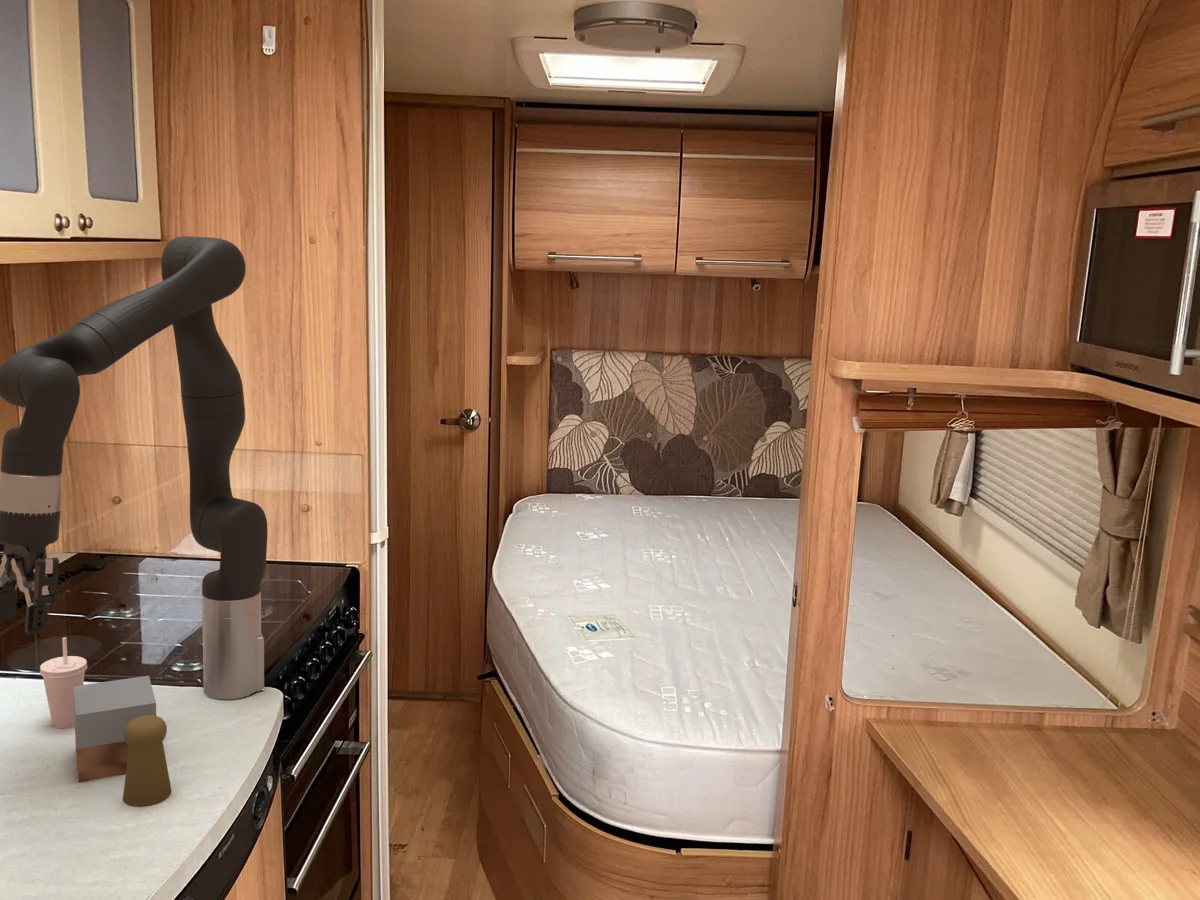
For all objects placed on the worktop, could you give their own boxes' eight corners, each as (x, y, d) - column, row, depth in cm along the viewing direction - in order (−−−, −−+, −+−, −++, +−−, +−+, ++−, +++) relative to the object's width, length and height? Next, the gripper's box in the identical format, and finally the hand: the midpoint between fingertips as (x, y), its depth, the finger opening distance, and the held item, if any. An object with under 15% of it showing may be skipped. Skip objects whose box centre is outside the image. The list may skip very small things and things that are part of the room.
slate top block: (149, 706, 146) (148, 675, 146) (156, 735, 138) (156, 702, 137) (74, 718, 141) (73, 686, 141) (77, 749, 133) (75, 715, 132)
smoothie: (57, 736, 146) (52, 648, 143) (33, 724, 149) (29, 637, 147) (98, 721, 151) (94, 636, 149) (74, 709, 155) (71, 626, 152)
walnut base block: (150, 737, 147) (149, 706, 146) (157, 768, 139) (156, 735, 138) (75, 750, 142) (74, 718, 141) (78, 782, 134) (77, 749, 133)
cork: (181, 790, 133) (180, 716, 131) (144, 811, 128) (142, 734, 126) (150, 779, 136) (148, 705, 134) (112, 799, 130) (109, 723, 128)
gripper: (83, 514, 128) (74, 634, 129) (34, 496, 136) (25, 609, 137) (23, 517, 122) (13, 643, 123) (-26, 498, 130) (-34, 616, 131)
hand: (19, 625), depth 130 cm, fingers open, 8 cm apart
